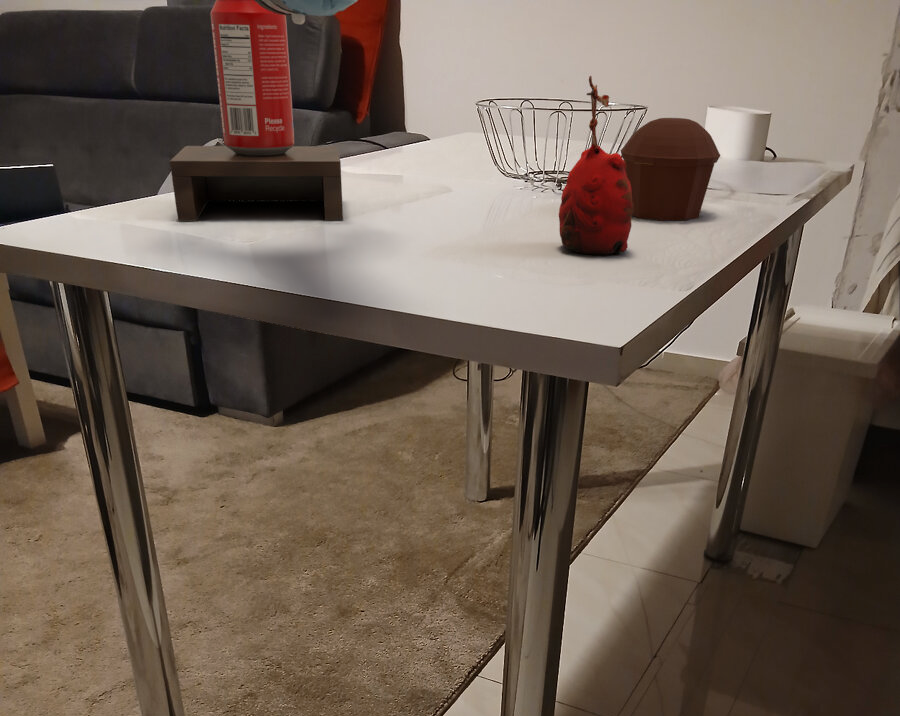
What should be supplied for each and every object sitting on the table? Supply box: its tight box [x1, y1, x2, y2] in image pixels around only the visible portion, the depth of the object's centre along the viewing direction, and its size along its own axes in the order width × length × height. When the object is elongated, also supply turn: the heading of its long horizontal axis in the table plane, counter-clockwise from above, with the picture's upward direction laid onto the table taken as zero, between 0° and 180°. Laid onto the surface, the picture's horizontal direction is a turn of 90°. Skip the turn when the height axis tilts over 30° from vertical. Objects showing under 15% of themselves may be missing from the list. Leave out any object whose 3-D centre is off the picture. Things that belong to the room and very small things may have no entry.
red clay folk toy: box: [558, 75, 634, 256], centre depth 85 cm, size 8×7×15 cm
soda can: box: [210, 0, 295, 156], centre depth 98 cm, size 8×8×15 cm
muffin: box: [620, 117, 721, 221], centre depth 105 cm, size 12×11×10 cm
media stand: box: [169, 145, 344, 222], centre depth 104 cm, size 18×14×6 cm
